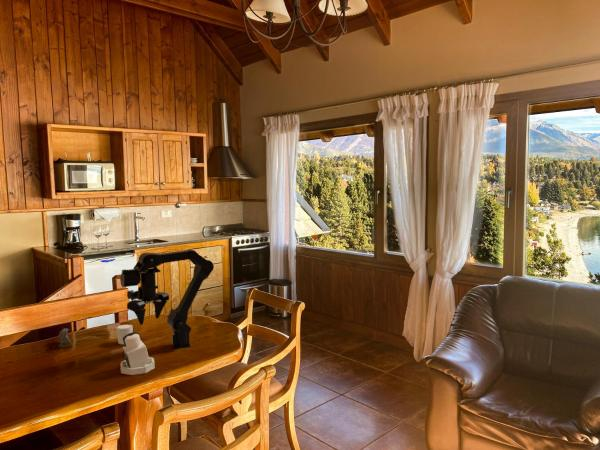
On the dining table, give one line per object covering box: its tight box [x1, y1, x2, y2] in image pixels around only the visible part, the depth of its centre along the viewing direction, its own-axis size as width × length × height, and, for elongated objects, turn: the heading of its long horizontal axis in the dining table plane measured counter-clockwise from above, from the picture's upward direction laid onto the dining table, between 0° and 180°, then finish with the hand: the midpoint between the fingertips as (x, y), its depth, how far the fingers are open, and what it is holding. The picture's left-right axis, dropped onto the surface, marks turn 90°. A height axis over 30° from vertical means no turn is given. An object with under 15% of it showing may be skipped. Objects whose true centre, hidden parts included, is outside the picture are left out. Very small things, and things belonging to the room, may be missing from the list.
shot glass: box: [115, 324, 134, 345], centre depth 200 cm, size 7×7×7 cm
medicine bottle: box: [122, 331, 150, 368], centre depth 172 cm, size 7×7×12 cm
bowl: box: [120, 356, 156, 376], centre depth 173 cm, size 12×12×2 cm
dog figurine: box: [56, 327, 74, 348], centre depth 198 cm, size 12×6×7 cm, turn 33°
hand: (149, 321), depth 188 cm, fingers open, 9 cm apart
